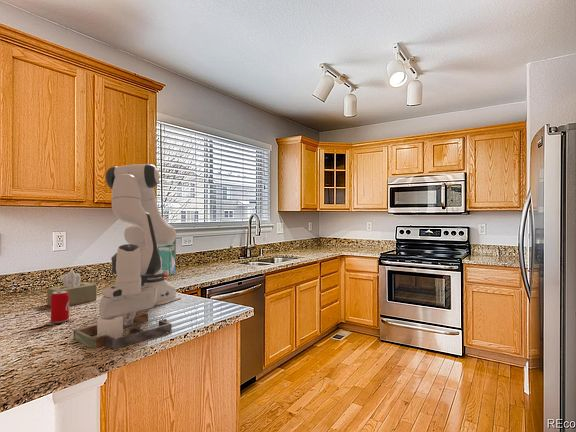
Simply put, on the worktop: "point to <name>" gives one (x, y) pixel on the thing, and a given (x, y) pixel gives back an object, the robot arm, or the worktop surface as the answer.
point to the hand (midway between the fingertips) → (128, 324)
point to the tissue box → (74, 289)
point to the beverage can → (59, 306)
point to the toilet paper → (110, 327)
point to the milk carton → (168, 257)
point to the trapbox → (134, 336)
